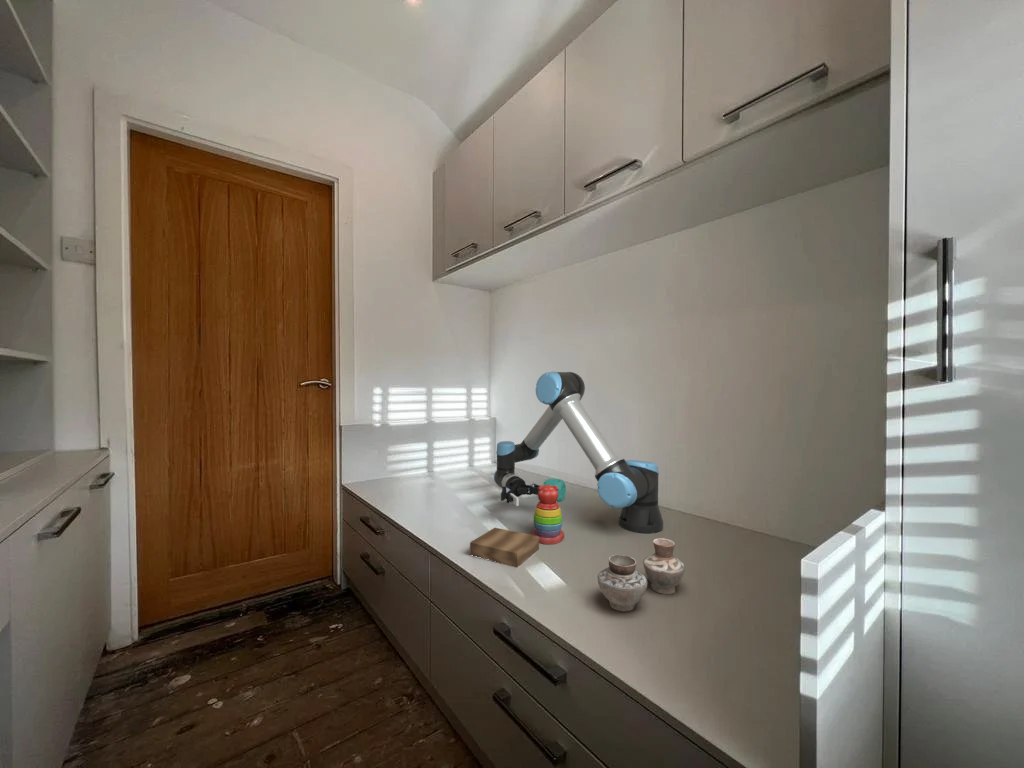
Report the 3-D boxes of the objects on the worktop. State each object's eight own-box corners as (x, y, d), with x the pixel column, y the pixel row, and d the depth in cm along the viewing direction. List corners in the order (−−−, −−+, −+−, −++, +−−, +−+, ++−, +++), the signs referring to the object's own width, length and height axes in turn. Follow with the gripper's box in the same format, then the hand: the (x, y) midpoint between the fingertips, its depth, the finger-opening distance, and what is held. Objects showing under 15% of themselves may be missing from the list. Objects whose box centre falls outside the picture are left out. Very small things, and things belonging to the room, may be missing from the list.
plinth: (538, 549, 131) (538, 536, 131) (517, 567, 118) (517, 553, 118) (494, 539, 138) (494, 527, 138) (470, 555, 126) (470, 542, 126)
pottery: (695, 593, 104) (695, 545, 104) (622, 624, 91) (622, 570, 91) (657, 574, 114) (658, 530, 114) (587, 601, 101) (587, 551, 101)
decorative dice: (542, 500, 182) (542, 481, 181) (548, 495, 189) (548, 477, 189) (560, 502, 178) (560, 484, 178) (566, 497, 185) (566, 479, 185)
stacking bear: (564, 533, 144) (564, 481, 143) (564, 545, 133) (564, 489, 133) (532, 532, 145) (532, 480, 144) (530, 544, 134) (530, 488, 134)
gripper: (542, 491, 172) (567, 506, 152) (483, 497, 163) (502, 515, 144) (542, 473, 172) (567, 486, 152) (483, 478, 163) (502, 493, 143)
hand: (535, 500), depth 148 cm, fingers open, 13 cm apart
